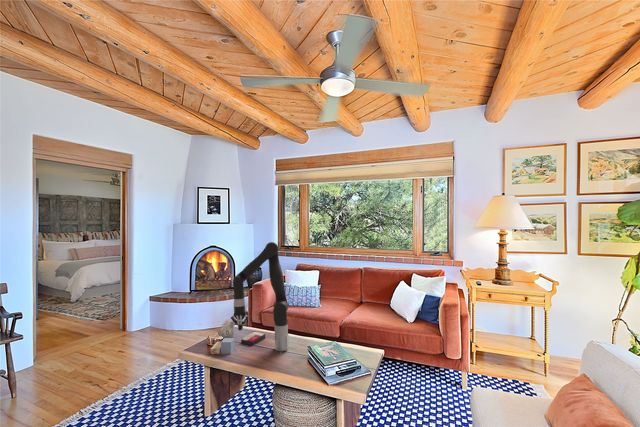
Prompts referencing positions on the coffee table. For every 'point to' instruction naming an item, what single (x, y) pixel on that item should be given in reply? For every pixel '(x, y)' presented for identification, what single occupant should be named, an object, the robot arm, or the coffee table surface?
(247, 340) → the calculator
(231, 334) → the fossil
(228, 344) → the block
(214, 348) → the tan lumpy piece
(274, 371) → the coffee table surface
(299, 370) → the coffee table surface
